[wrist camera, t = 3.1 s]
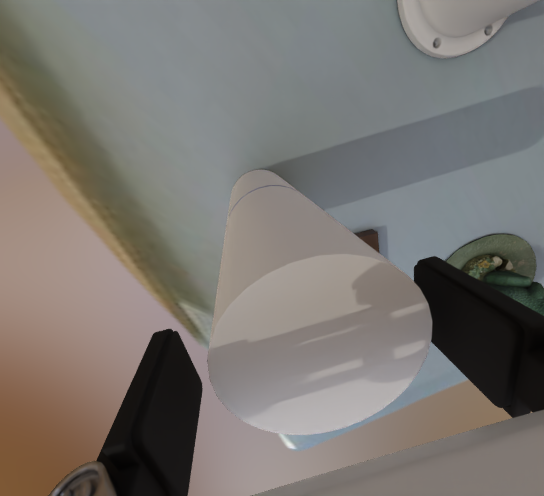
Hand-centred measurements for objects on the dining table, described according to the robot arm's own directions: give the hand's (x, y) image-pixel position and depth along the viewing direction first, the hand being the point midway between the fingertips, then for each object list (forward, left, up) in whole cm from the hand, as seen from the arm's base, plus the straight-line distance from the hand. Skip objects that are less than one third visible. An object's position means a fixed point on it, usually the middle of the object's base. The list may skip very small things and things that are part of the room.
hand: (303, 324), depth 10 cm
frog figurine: (-30, +22, -23) cm, 44 cm away
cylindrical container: (0, 0, -23) cm, 23 cm away
